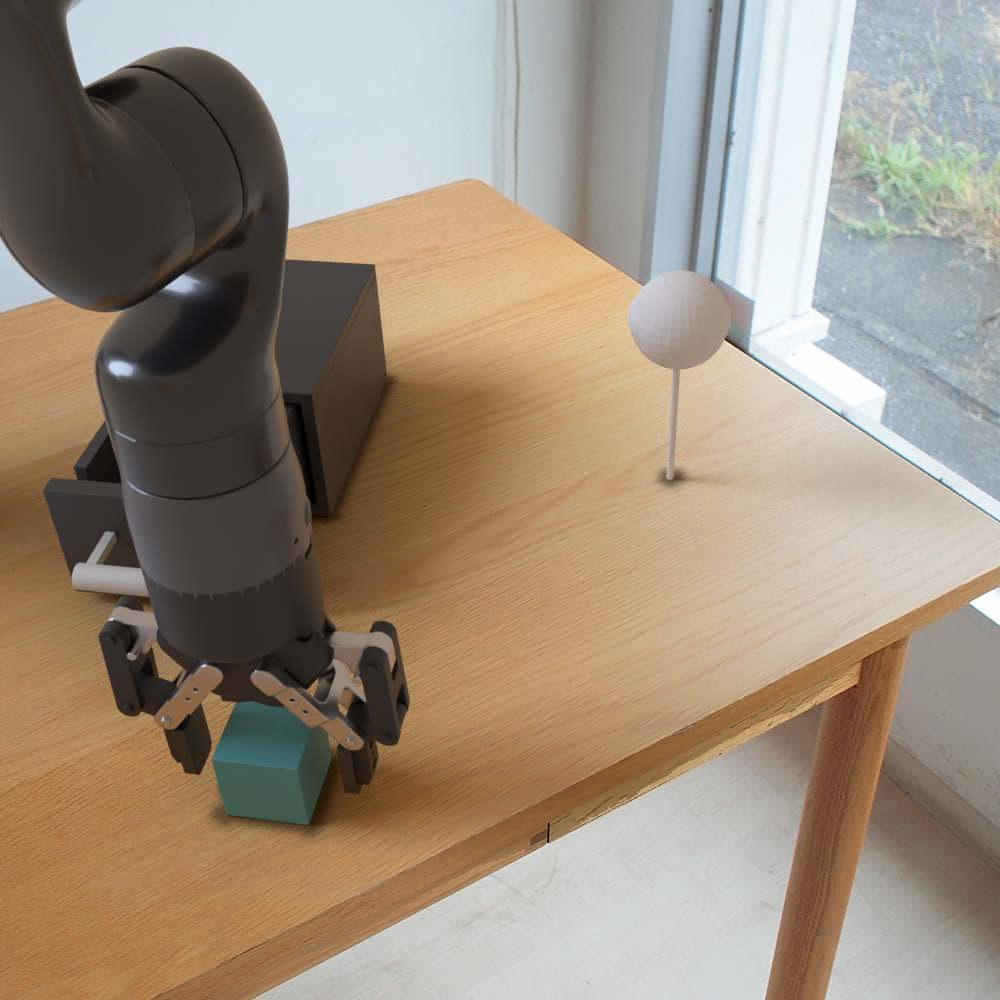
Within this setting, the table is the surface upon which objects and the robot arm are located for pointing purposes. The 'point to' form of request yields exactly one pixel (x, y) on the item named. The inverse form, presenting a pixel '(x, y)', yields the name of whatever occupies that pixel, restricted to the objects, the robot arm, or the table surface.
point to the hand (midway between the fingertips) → (278, 770)
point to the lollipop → (678, 329)
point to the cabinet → (331, 363)
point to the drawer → (117, 515)
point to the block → (270, 764)
